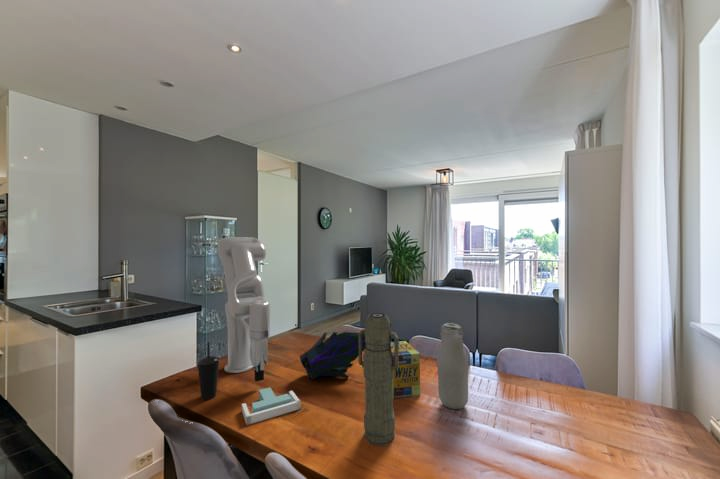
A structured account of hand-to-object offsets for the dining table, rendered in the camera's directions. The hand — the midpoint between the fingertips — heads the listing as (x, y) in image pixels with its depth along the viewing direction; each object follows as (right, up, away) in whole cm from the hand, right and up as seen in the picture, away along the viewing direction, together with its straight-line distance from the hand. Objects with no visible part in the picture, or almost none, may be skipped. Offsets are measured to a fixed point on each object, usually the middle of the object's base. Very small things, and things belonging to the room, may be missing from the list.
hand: (259, 379), depth 118 cm
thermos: (+45, -3, -30) cm, 54 cm away
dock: (+9, -3, -15) cm, 18 cm away
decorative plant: (+29, -3, +12) cm, 31 cm away
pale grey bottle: (+71, -2, -15) cm, 72 cm away
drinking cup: (-17, -4, -6) cm, 18 cm away
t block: (+8, -3, -13) cm, 15 cm away
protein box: (+55, -3, -1) cm, 55 cm away
